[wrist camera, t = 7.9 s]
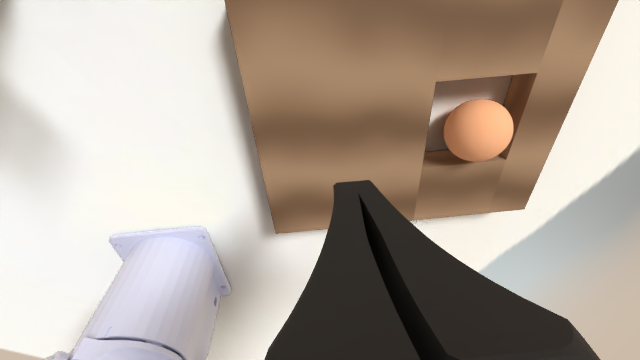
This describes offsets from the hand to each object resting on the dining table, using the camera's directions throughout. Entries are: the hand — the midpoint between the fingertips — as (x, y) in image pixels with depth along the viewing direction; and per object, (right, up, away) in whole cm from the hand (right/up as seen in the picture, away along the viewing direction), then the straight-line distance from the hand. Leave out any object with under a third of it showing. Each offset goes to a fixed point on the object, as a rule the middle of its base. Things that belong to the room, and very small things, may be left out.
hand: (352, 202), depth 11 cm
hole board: (+5, +5, +9) cm, 12 cm away
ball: (+9, +4, +8) cm, 13 cm away
